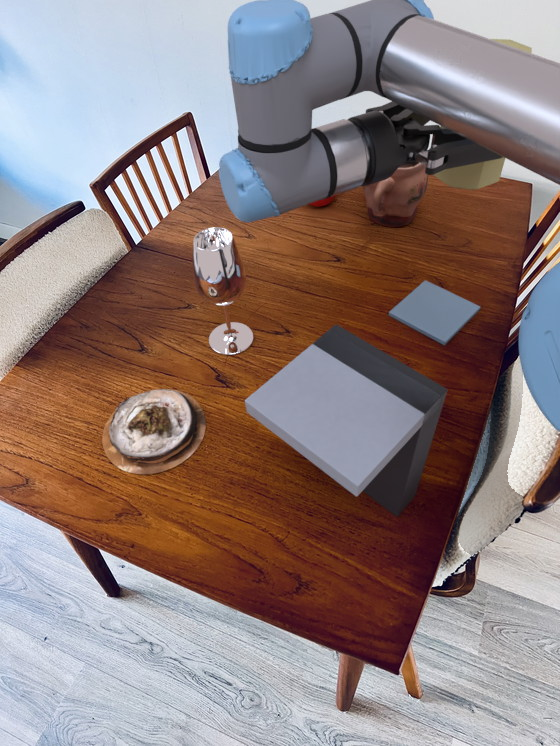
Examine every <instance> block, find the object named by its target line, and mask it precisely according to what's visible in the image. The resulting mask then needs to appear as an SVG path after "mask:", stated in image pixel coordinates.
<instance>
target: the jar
mask: <svg viewBox="0 0 560 746" xmlns="http://www.w3.org/2000/svg"><path fill="white" fill-rule="evenodd" d="M490 39H491V40H494V41H497V42H500V43H503V44H506V45H509V46H511V47H514V48H517V49H520V50H523V51H526V52H529V53H532V51H533V48H532V47H531V46H529V45H526V44H523V43H520V42H517V41H515V40H513V39H507V38H505V39H504V38H490ZM532 54H533V53H532ZM439 126H440V128H441V129H446V128H445V127H443V126H441V125H439ZM505 161H506V158H504V157H503V158H500V159H495V160H490V161H485V162H480V163H475V164H470V165H465V166H460V167H455V168H450V169H445V170H443V171H440V172H438V173H436V174H434V175H433V176H434V178H436V179H438V180H439V181H441V182H442V183H444V184H445V185H446V186H448V187H450V188H453V189H461V190H470V191H475V190H479V189H482V188H485V187H487V186H490V185H493V184H496V183H498V182H500V179H501V175H502V172H503V168H504V166H505Z"/></svg>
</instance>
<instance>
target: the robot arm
mask: <svg viewBox="0 0 560 746" xmlns="http://www.w3.org/2000/svg"><path fill="white" fill-rule="evenodd" d="M491 39H492V38H489V37H485V36H482V35H480V34H476V33H474V32H471V31H469V30H465V29H463V28H460V27H457V26H453V25H452V24H451V25H450V24H448V23H445V22H442V21H439V20H436V19H435V18H434V13H433V12H432V9H431V8H430V7H429V6H428V5H427V4H426V2H425V0H367V1H364V2H361V3H358V4H355V5H352V6H351V5H350V6H348V7H345V8H342V9H339V10H335V11H332V12H328V13H324V14H321V15H318V16H313V17H311V13H310V11H309V9H308V7H307V5H305V4H304V3H302V2H300V1H297V0H253V1H250V2H247V3H245V4H244V3H243V4H242V5H240V6H238V7H237V8H236V9H234V11H233V12H232V13H231V15H230V16H229V18H228V22H227V57H228V70H229V74H230V81H231V86H232V94H233V95H232V96H233V101H234V108H235V115H236V121H237V128H238V129H237V134H238V135H237V148H235V149H232V150H230V151H228V152H226V153H224V154H223V155H222V156H221V157H220V159H219V162H218V165H219V166H218V168H219V170H218V178H219V183H220V187H221V190H222V193H223V197H224V199H225V202H226V204H227V206H228V208H229V210H230V211H231V213H232V214H233V215H234V216H235V218H236V219H237V220H239V221H240V222H242V223H247V224H248V223H253V222H257V221H261V220H265V219H268V218H272V217H276V218H278V217H280V216H281V215H283V214H286V213H289V212H292V211H294V210H296V209H299V208H302V207H304V206H307V205H309V204H310V203H313V202H316V201H319V200H324V199H326V198H330V197H332V196H335V195H337V196H338V195H341V194H345V193H348V192H351V191H353V190H357V189H359V188H361V187H363V186H368V185H371V184H374V183H377V182H380V181H383V180H386V179H388V178H389V177H391V176H392V175H393V173H394V172H395V171H396V170H397V169H398V168H399V166H401V165H404V164H415V163H417V162H419V163H421V164H423V165H425V166H426V168H425V173H426V174H427V175H429V176H434V174H436V173H438V172H440V171H443V170H445V169H450V168H455V167H460V166H465V165H470V164H475V163H480V162H485V161H490V160H495V159H500V158H503V157H504V158H505V160H508V161H510V162H513V164H516V165H519V166H521V167H523V168H525V169H526V170H528V171H530V172H532V173H534V174H536V175H538V176H540V177H543V178H545V179H546V180H549V181H551V182H553V183H554V184H557V185H558V186H560V62H557V61H555V60H553V59H548V58H546V57H543V56H540V55H538V54H534V53H529V52H526V51H523V50H520V49H517V48H514V47H511V46H509V45H506V44H503V43H500V42H497V41H494V40H491ZM364 92H372V93H374V94H376V95H378V96H379V97H381V98H384V99H387V100H388V101H390V102H386V103H385V104H383V105H379V106H374V107H369V108H367V109H365V113H361V114H358V115H354V116H351V117H349V118H347V119H345V118H343V119H340V120H336V121H333V122H330V123H327V124H323V125H320V126H315V127H314V128H313V111H314V110H316V109H319V108H322V107H324V106H327V105H329V104H331V103H334V102H337V101H340V100H344V99H346V98H350V97H353V96H356V95H358V94H361V93H364ZM430 122H432V123H434V124H429V125H427V124H428V123H430ZM440 126H443V127H445V128H446V129H441V128H440ZM431 135H432V136H431ZM430 141H431V142H430ZM429 146H430V147H429ZM518 356H519V363H520V367H521V371H522V375H523V378H524V380H525V383H526V386H527V389H528V391H529V393H530V395H531V397H532V399H533V400H534V402H535V404H536V406H537V407H538V409H539V410H540V412H541V413H542V415H543V416H544V417H545V419H546V420H547V421H548V423H550V425H551V426H552V427H553V428H554V430H556V431H558V432H560V261H558V262H557V263H556V264H555V265H554V266H553V267H551V268H550V269H549V270H548V271H547V272H546V273H545V274H544V275H543V277H542V278H541V279H540V280H539V282H538V283H537V284H536V286H535V287H534V288H533V290H532V291H531V293H530V296H529V298H528V301H527V303H526V308H525V310H524V311H523V312H522V316H521V320H520V324H519V331H518Z"/></svg>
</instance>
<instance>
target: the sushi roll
mask: <svg viewBox="0 0 560 746" xmlns="http://www.w3.org/2000/svg"><path fill="white" fill-rule="evenodd" d="M206 428H207V421H206V415H205V412H204V410H203V407H202V406H201V404H200V403H199V402H198V401H197V400H196V399H195V398H194V397H193V396H191V395H189V394H187V393H186V392H184V391H180V390H176V389H172V388H158V389H148V390H145V391H142V392H139V393H135V394H134V395H132V396H130V397H128V398H126V399H124V401H121V402H120V403H119V405H118V406H117V407H116V408H115V409H114V410H113V412H112V413H111V415H110V416H109V417H108V418H107V421H106V422H105V425H104V427H103V429H102V430H103V431H102V434H101V435H102V437H101V438H102V439H101V443H102V448H103V451H104V454H105V456H106V458H107V459H108V460H109V461H110V462H111V463H112V464H113V465H114V466H115V467H117V468H118V469H121V470H122V471H124V472H126V473H130V474H136V475H152V474H153V475H154V474H159V473H163V472H166V471H168V470H172V469H173V468H175V467H177V466H179V465H181V464H182V463H183V462H185V461H186V460H188V459H189V458H190V457H191V456H192V455H193V454H194V453H195V452H196V450H198V448H199V447H200V446H201V443H202V441H203V438H204V437H205V433H206Z"/></svg>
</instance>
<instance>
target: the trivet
mask: <svg viewBox="0 0 560 746" xmlns="http://www.w3.org/2000/svg"><path fill="white" fill-rule="evenodd" d="M480 310H481V306H480V305H478V304H476V303H474V302H472V301H470V300H468V299H465V298H463V297H461V296H460V295H458V294H455V293H453V292H452V291H449V290H447V289H445V288H442V287H441V286H438V285H437V284H435V283H433V282H430V281H428V280H426V279H424V280H423V281H422V282H421V283H420V284H419V285H418V286H417V287H415V288H414V289H413V290H412V291H411V292H410V293H409V294H408V295H406V296H405V297H404V298H403V299H402V300H401V301H400V302H398V303H397V304H396V305H395V306H394V307H393V308H392V309H391V310H390V311H388V316H389V317H390V318H393V319H395V320H396V321H398V322H400V323H402V324H404V325H405V326H407V327H409V328H410V329H413V330H414V331H417V332H418V333H420V334H422V335H424V336H426V337H427V338H430V339H432V340H433V341H435V342H437V343H439V344H441V345H443V346H446V345H447V344H448V343H449V342H450V341H451V340H452V339H453V338H454V337H455V336H456V335H457V334H458V333H459V332H460V330H462V329H463V327H465V326H466V325H467V324H468V323H469V322H470V321H471V320H472V319H473V318H474V316H476V315H477V313H479V312H480Z"/></svg>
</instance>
